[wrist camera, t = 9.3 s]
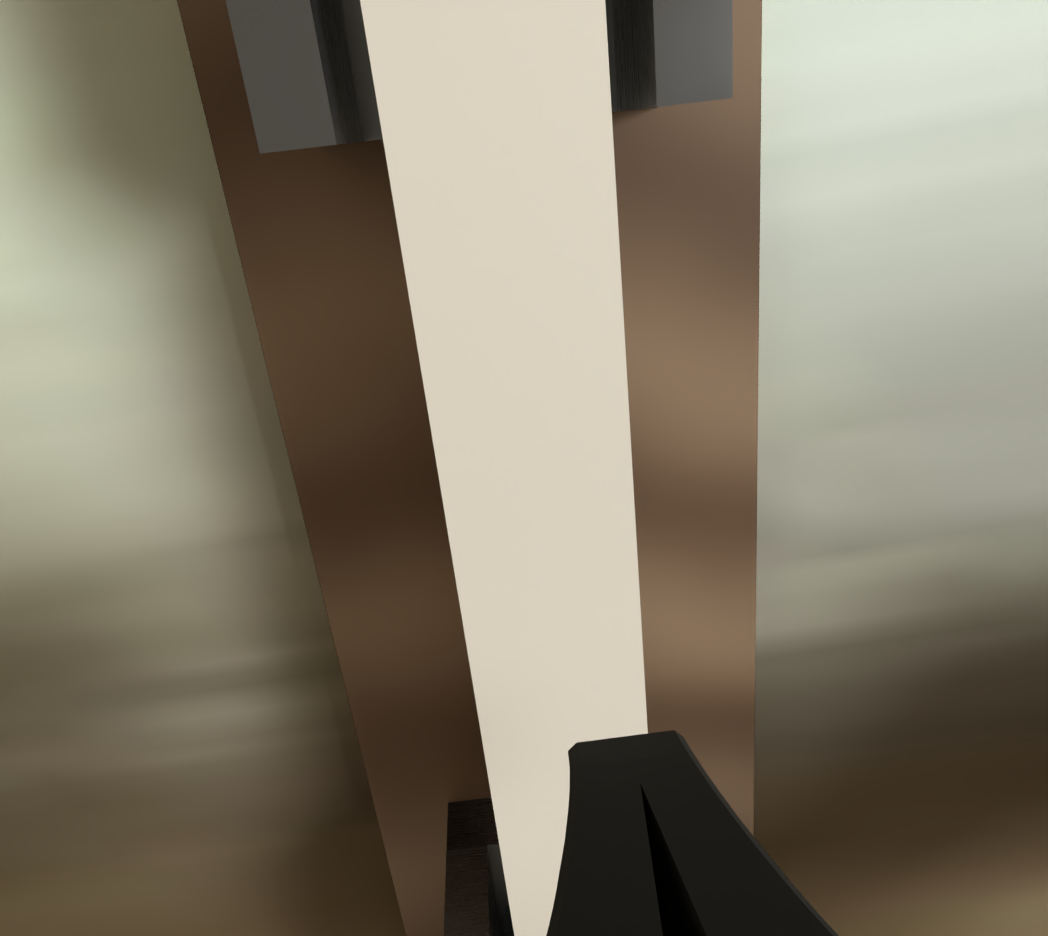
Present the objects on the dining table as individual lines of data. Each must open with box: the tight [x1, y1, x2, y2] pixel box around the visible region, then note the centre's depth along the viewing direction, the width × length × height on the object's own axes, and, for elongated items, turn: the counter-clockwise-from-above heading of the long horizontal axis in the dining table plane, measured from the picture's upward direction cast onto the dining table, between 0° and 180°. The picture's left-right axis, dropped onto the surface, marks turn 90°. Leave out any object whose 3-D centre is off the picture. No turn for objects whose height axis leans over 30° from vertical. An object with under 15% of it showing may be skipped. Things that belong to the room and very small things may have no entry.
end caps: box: [226, 0, 733, 936], centre depth 16 cm, size 28×6×4 cm, turn 6°
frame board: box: [177, 0, 762, 936], centre depth 18 cm, size 29×10×1 cm, turn 6°
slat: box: [360, 0, 648, 936], centre depth 15 cm, size 24×3×3 cm, turn 6°
